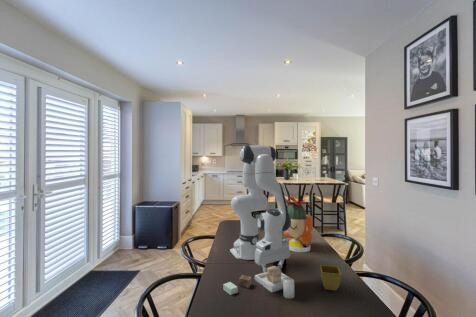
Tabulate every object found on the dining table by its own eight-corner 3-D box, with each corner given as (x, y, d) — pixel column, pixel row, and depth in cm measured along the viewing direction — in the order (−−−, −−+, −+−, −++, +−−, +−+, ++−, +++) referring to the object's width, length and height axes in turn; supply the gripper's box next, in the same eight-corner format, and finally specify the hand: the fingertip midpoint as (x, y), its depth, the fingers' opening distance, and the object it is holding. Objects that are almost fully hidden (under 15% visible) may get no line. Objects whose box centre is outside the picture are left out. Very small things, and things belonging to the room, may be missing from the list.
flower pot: (338, 284, 124) (338, 266, 124) (341, 293, 116) (341, 274, 116) (319, 282, 126) (319, 264, 126) (321, 291, 118) (321, 272, 118)
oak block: (267, 279, 127) (267, 267, 127) (274, 277, 129) (274, 265, 129) (273, 284, 123) (273, 271, 123) (281, 281, 125) (281, 269, 125)
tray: (254, 280, 128) (254, 275, 128) (275, 273, 136) (275, 269, 136) (271, 292, 116) (271, 287, 116) (294, 284, 124) (294, 279, 124)
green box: (223, 290, 119) (223, 284, 119) (230, 288, 121) (230, 281, 121) (230, 296, 114) (230, 289, 114) (237, 293, 116) (237, 286, 116)
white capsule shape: (281, 295, 114) (280, 280, 114) (287, 291, 117) (287, 276, 118) (290, 299, 110) (289, 283, 111) (296, 295, 114) (296, 280, 114)
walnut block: (239, 286, 122) (239, 278, 122) (242, 282, 126) (242, 274, 126) (248, 288, 120) (248, 280, 120) (251, 284, 124) (251, 276, 124)
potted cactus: (298, 255, 162) (299, 201, 162) (275, 245, 181) (276, 196, 181) (320, 249, 174) (321, 198, 174) (297, 240, 193) (297, 194, 193)
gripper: (284, 237, 134) (284, 263, 135) (253, 243, 124) (252, 271, 124) (293, 241, 129) (292, 267, 129) (260, 248, 119) (260, 277, 119)
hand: (272, 269), depth 127 cm, fingers open, 8 cm apart
